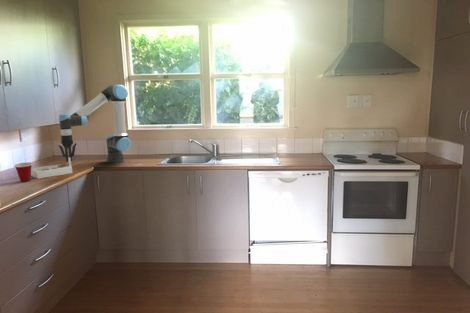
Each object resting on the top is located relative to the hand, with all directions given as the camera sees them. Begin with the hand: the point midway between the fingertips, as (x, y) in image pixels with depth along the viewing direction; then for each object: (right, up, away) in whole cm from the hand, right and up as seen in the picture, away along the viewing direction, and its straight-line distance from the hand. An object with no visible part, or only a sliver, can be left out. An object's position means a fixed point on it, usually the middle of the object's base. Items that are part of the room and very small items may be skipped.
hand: (69, 165), depth 272 cm
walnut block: (-3, -2, -3) cm, 5 cm away
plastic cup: (-18, -10, -26) cm, 33 cm away
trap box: (-11, -6, -6) cm, 13 cm away
